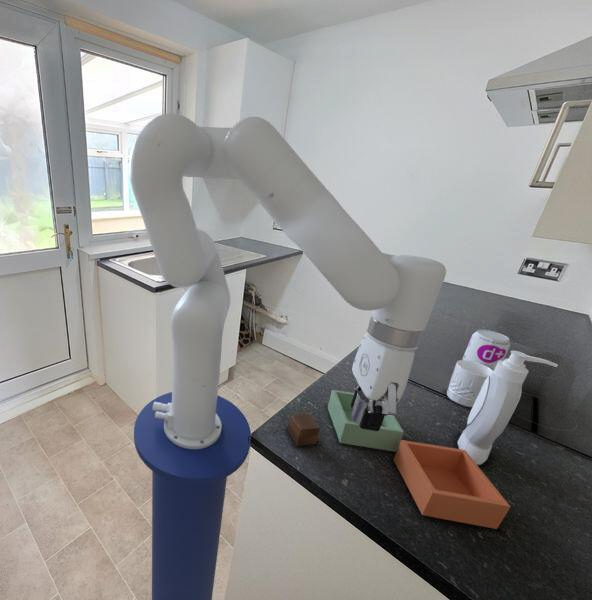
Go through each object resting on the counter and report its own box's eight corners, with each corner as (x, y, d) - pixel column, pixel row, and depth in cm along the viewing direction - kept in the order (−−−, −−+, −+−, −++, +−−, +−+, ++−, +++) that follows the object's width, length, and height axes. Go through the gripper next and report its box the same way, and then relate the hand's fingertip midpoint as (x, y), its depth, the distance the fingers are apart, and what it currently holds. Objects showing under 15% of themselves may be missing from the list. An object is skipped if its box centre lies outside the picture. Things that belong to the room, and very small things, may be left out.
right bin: (422, 515, 54) (432, 492, 52) (393, 460, 64) (401, 439, 62) (497, 529, 52) (510, 506, 50) (455, 470, 63) (464, 449, 61)
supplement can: (494, 390, 89) (516, 344, 84) (458, 380, 93) (477, 336, 88) (487, 377, 96) (507, 333, 90) (454, 368, 100) (471, 326, 94)
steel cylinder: (354, 425, 56) (362, 403, 54) (347, 409, 60) (354, 388, 58) (380, 430, 56) (388, 408, 54) (371, 413, 60) (379, 392, 58)
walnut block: (296, 446, 67) (300, 429, 65) (287, 430, 71) (290, 414, 69) (315, 444, 67) (320, 427, 66) (305, 428, 72) (309, 413, 70)
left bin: (339, 442, 68) (345, 423, 66) (327, 407, 79) (332, 389, 77) (396, 452, 66) (404, 432, 64) (376, 414, 77) (382, 396, 75)
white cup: (449, 386, 90) (462, 357, 86) (484, 402, 84) (499, 371, 80) (439, 396, 86) (452, 364, 82) (475, 413, 80) (490, 380, 76)
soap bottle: (505, 483, 60) (565, 378, 52) (455, 460, 65) (502, 360, 56) (501, 445, 70) (552, 351, 61) (458, 427, 74) (499, 337, 65)
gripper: (354, 309, 59) (331, 387, 66) (391, 354, 44) (356, 450, 51) (395, 314, 58) (368, 393, 65) (449, 362, 43) (406, 459, 50)
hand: (363, 417), depth 58 cm, fingers closed on steel cylinder, 4 cm apart
